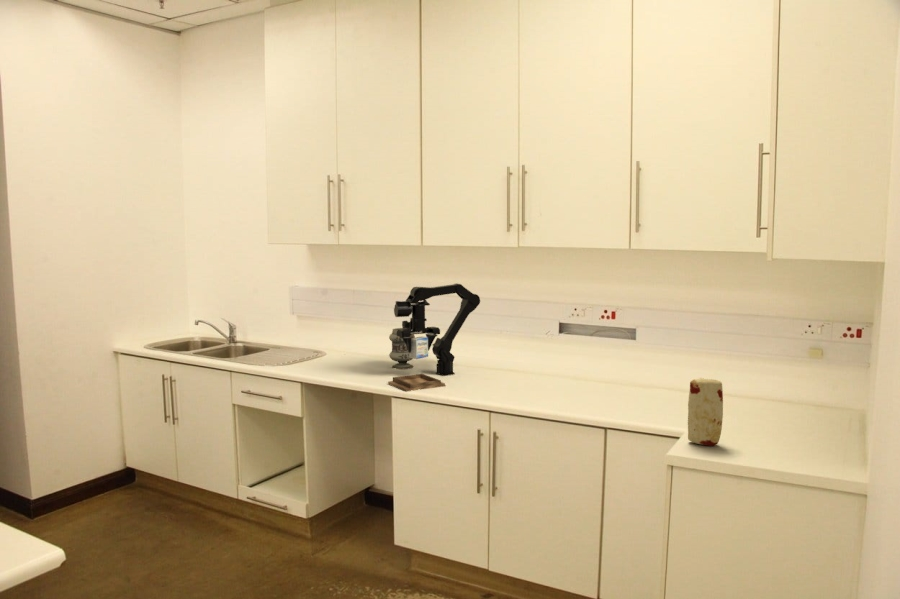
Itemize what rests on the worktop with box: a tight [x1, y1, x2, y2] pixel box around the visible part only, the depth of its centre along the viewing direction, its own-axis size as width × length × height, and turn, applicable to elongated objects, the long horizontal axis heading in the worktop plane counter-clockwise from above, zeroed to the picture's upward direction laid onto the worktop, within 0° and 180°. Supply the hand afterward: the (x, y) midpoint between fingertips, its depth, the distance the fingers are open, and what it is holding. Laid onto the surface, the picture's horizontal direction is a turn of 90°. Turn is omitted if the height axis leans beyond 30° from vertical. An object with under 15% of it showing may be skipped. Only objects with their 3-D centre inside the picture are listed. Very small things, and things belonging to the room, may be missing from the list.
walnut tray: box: [388, 373, 446, 392], centre depth 290 cm, size 18×16×2 cm
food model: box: [687, 377, 724, 447], centre depth 208 cm, size 10×7×20 cm
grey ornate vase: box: [388, 327, 416, 370], centre depth 326 cm, size 12×12×18 cm
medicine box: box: [409, 336, 429, 360], centre depth 306 cm, size 8×4×9 cm, turn 142°
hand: (418, 351), depth 306 cm, fingers closed on medicine box, 9 cm apart
